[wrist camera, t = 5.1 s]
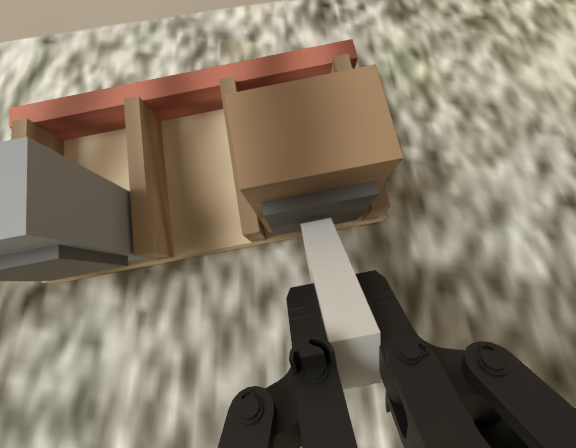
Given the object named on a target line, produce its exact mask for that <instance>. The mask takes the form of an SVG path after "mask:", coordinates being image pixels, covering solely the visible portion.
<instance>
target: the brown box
mask: <svg viewBox="0 0 576 448" xmlns="http://www.w3.org/2000/svg"><path fill="white" fill-rule="evenodd" d="M225 98H226V105H227V111H228V118H229V124H230V131H231V137H232V144H233V150H234V157H235V163H236V170H237V176H238V183H239V189H240V191H241V192H242V194H243V195H244V197H245V198H246V200H247V201H248V203H249V204H250V206H251V207H252V209H253V210H254V212H255V213H256V215H257V216H258V218H259V219H260V221H261V222H262V224H263V225H264V226H265V228H266V229H267V231H268V232H269V233H274V235H275V236H276V235H281V234H286V233H292V232H297V231H302V230H301V225H300V224H302V223H307V222H312V221H317V220H322V219H327V218H331V219H332V222H333V224H339V223H344V222H349V221H354V220H358V219H359V218H360V216H361V215H362V214H363V213H364V212H365V210H366V209H367V208H368V207H369V206H370V204H371V203H372V202H373V201H374V199H375V198H376V197H377V196H378V195H379V188H380V187H381V186H382V184H383V183H384V182H385V181H386V179H387V178H388V177H389V175H390V174H391V173H392V172H393V170H394V169H395V168H396V166H397V165H398V164H399V163H400V161H401V160H402V159H403V156H402V152H401V149H400V145H399V142H398V139H397V135H396V132H395V128H394V125H393V122H392V118H391V115H390V111H389V108H388V105H387V101H386V98H385V94H384V91H383V87H382V84H381V81H380V77H379V74H378V70H377V67H376V64H375V65H370V66H365V67H360V68H355V69H350V70H345V71H340V72H335V73H330V74H325V75H320V76H315V77H310V78H305V79H300V80H295V81H290V82H285V83H280V84H275V85H270V86H265V87H260V88H255V89H250V90H245V91H240V92H235V93H230V94H225Z"/></svg>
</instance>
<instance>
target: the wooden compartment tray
mask: <svg viewBox="0 0 576 448" xmlns="http://www.w3.org/2000/svg"><path fill="white" fill-rule="evenodd" d="M357 58H358V57H357V54H356V50H355V47H354V43H353V39H351V40H346V41H341V42H336V43H331V44H326V45H321V46H316V47H311V48H306V49H301V50H296V51H291V52H286V53H281V54H276V55H271V56H266V57H261V58H256V59H251V60H246V61H241V62H236V63H231V64H226V65H222V66H217V67H212V68H207V69H202V70H197V71H192V72H187V73H182V74H177V75H172V76H167V77H162V78H157V79H152V80H147V81H142V82H137V83H132V84H127V85H122V86H117V87H112V88H107V89H102V90H97V91H92V92H87V93H82V94H77V95H72V96H67V97H62V98H57V99H52V100H47V101H42V102H37V103H33V104H28V105H23V106H18V107H13V108H10V126H9V127H10V128H12V140H14V139H19V138H24V137H29V138H31V139H33V140H34V141H36V142H38V143H40V144H42V145H44V146H46V147H48V148H49V149H51V150H53V151H55V152H57V153H59V154H61V155H62V156H64V157H66V158H68V159H70V160H72V161H74V162H75V163H77V164H79V165H81V166H83V167H85V168H87V169H89V170H90V171H92V172H94V173H96V174H98V175H100V176H102V177H103V178H105V179H107V180H109V181H111V182H113V183H115V184H117V185H118V186H120V187H122V188H124V189H126V190H128V191H130V200H131V216H132V231H133V246H134V256H139V257H144V258H148V259H143V260H138V261H133V262H128V266H125V267H120V268H115V269H110V270H104V271H99V272H94V273H89V274H84V275H78V276H73V277H68V278H63V279H57V280H52V281H42V283H62V282H67V281H72V280H78V279H83V278H88V277H93V276H98V275H104V274H109V273H114V272H119V271H125V270H130V269H135V268H140V267H146V266H151V265H156V264H161V263H167V262H172V261H177V260H182V259H188V258H193V257H198V256H203V255H208V254H214V253H219V252H224V251H229V250H235V249H240V248H245V247H250V246H256V245H261V244H266V243H271V242H277V241H282V240H287V239H292V238H297V237H303V235H302V231H297V232H292V233H286V234H281V235H276V236H275V235H274V233H269V232H268V231H267V229H266V228H265V226H264V225H263V224H262V222H261V221H260V219H259V218H258V216H257V215H256V213H255V212H254V210H253V209H252V207H251V206H250V204H249V203H248V201H247V200H246V198H245V197H244V195H243V194H242V192H241V191H240V189H239V183H238V176H237V170H236V163H235V157H234V150H233V144H232V137H231V131H230V124H229V118H228V111H227V105H226V98H225V94H230V93H235V92H240V91H245V90H250V89H255V88H260V87H265V86H270V85H275V84H280V83H285V82H290V81H295V80H300V79H305V78H310V77H315V76H320V75H325V74H330V73H335V72H340V71H345V70H350V69H355V66H356V62H357ZM389 207H390V205H389V201H388V198H387V194H386V190H385V187H384V183H383V184H382V186H381V187H380V188H379V195H378V196H377V197H376V198H375V199H374V201H373V202H372V203H371V204H370V206H369V207H368V208H367V209H366V210H365V212H364V213H363V214H362V215H361V216H360V218H359V219H358V220H354V221H349V222H344V223H339V224H334V226H335V229H336V230H339V229H345V228H350V227H355V226H360V225H366V224H371V223H376V222H381V221H383V220H384V219H385V218H386V217H387V214H386V210H387V209H388V208H389Z"/></svg>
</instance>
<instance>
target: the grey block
mask: <svg viewBox="0 0 576 448" xmlns="http://www.w3.org/2000/svg"><path fill="white" fill-rule="evenodd" d="M143 259H148V258H144V257H139V256H134V246H133V231H132V216H131V200H130V191H128V190H126V189H124V188H122V187H120V186H118V185H117V184H115V183H113V182H111V181H109V180H107V179H105V178H103V177H102V176H100V175H98V174H96V173H94V172H92V171H90V170H89V169H87V168H85V167H83V166H81V165H79V164H77V163H75V162H74V161H72V160H70V159H68V158H66V157H64V156H62V155H61V154H59V153H57V152H55V151H53V150H51V149H49V148H48V147H46V146H44V145H42V144H40V143H38V142H36V141H34V140H33V139H31V138H29V137H24V138H19V139H14V140H9V141H4V142H0V281H52V280H57V279H63V278H68V277H73V276H78V275H84V274H89V273H94V272H99V271H104V270H110V269H115V268H120V267H125V266H128V262H133V261H138V260H143Z"/></svg>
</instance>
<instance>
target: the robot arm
mask: <svg viewBox="0 0 576 448" xmlns="http://www.w3.org/2000/svg"><path fill="white" fill-rule="evenodd" d="M300 225H301V230H302V235H303V241H304V246H305V252H306V257H307V263H308V268H309V272H310V276H311V280H312V284H307V285H302V286H297V287H292V288H290V290H289V293H288V295H287V298H286V299H287V307H288V316H289V324H290V333H291V341H292V349H291V351H290V356H289V362H290V365H291V368H290V369H289V371H288V373H287V374H286V375H285V376H284V377H283V378H282V379H280V380H279V381H278V382H276V383H274V384H272V385H271V386H269V387H267V388H265V389H264V388H262V387H258V386H253V387H247V388H246V389H244V390H242V391H240V392H239V393H238V394H237V395H236V397H235V398H234V399H233V401H232V403H231V405H230V407H229V410H228V413H227V417H226V420H225V424H224V428H223V431H222V435H221V438H220V442H219V445H218V448H300V447H301V446H302V448H357V444H356V440H355V436H354V432H353V428H352V424H351V420H350V416H349V412H348V408H347V404H346V401H345V397H344V393H343V389H348V388H353V387H359V386H364V385H369V384H374V383H379V382H381V378H382V380H383V383H384V386H385V388H386V411H387V412H390V411H391V413H392V416H393V419H394V422H395V424H396V427H397V430H398V433H399V435H400V438H401V441H402V444H403V446H404V448H576V409H575V408H573V407H572V406H571V405H570V404H569V403H568V402H567V401H565V400H564V399H563V398H562V397H561V396H560V395H559V394H557V393H556V392H555V391H554V390H553V389H552V388H550V387H549V386H548V385H547V384H546V383H545V382H544V381H542V380H541V379H540V378H539V377H538V376H537V375H536V374H534V373H533V372H532V371H531V370H530V369H529V368H528V367H526V366H525V365H524V364H523V363H522V362H521V361H519V360H518V359H517V358H516V357H515V356H514V355H513V354H511V353H510V352H509V351H507V350H506V349H504V348H503V347H501V346H499V345H496V344H493V343H491V342H481V341H480V342H476V343H472V344H471V345H469V346H468V347H467V348H466V351H464V350H455V349H446V348H440V347H436V346H434V345H431V344H429V343H427V342H426V341H424V340H423V339H421V338H420V337H419V336H418V335H417V333H416V332H415V331H414V329H413V327H412V326H411V324H410V322H409V320H408V318H407V317H406V315H405V313H404V311H403V309H402V307H401V306H400V304H399V302H398V300H397V299H396V297H395V295H394V293H393V291H392V290H391V288H390V286H389V284H388V282H387V280H386V279H385V277H383V276H382V275H381V274H379V273H378V272H377V271H376V270H374V271H369V272H364V273H359V274H355V273H354V270H353V268H352V266H351V263H350V261H349V259H348V256H347V254H346V252H345V249H344V247H343V245H342V242H341V240H340V238H339V235H338V233H337V231H336V229H335V226H334V224H333V222H332V219H331V218H327V219H322V220H317V221H312V222H307V223H302V224H300Z"/></svg>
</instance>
